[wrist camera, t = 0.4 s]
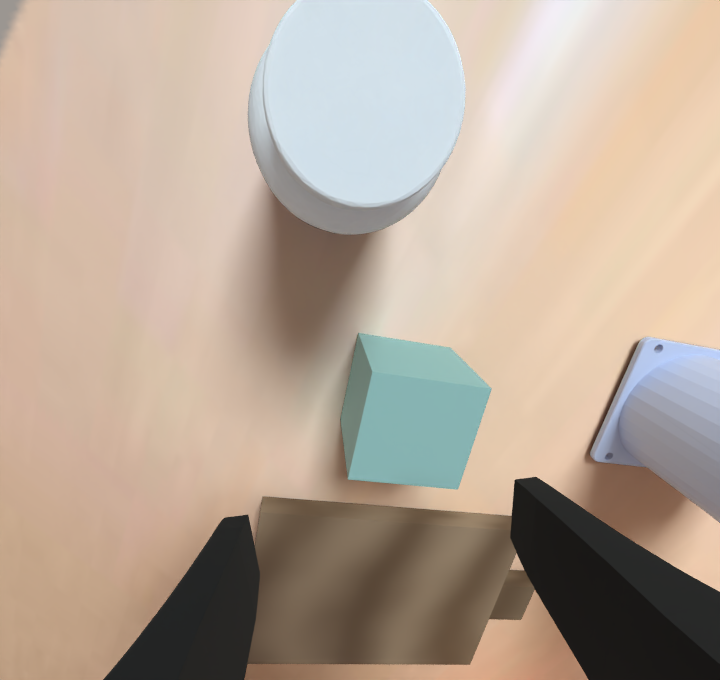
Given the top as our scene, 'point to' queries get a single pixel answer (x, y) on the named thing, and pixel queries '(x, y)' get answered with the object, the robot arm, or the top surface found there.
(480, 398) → the teal cube
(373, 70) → the supplement bottle
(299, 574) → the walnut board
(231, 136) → the top surface
